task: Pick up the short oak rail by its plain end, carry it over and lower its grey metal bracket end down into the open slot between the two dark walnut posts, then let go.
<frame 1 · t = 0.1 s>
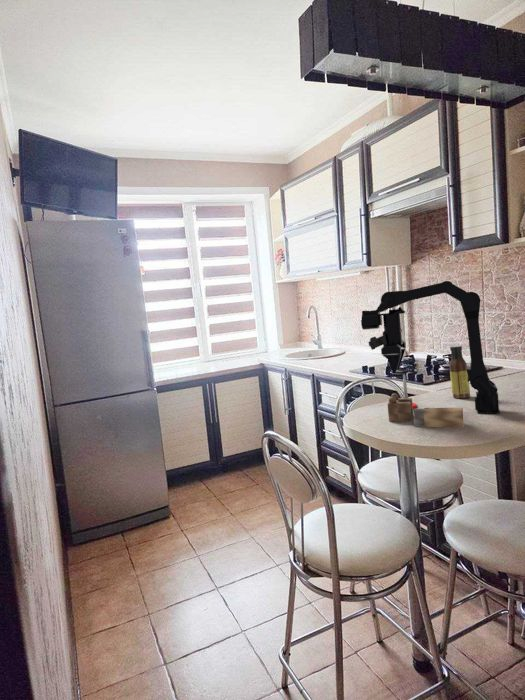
hand: (396, 371, 154), 15 cm above the table, tool pointing down, fingers open, 9 cm apart
headboard post: (402, 418, 146), on the table
bed rail: (444, 425, 134), on the table
sauce bottle: (460, 397, 167), on the table
tow hook: (405, 407, 161), on the table
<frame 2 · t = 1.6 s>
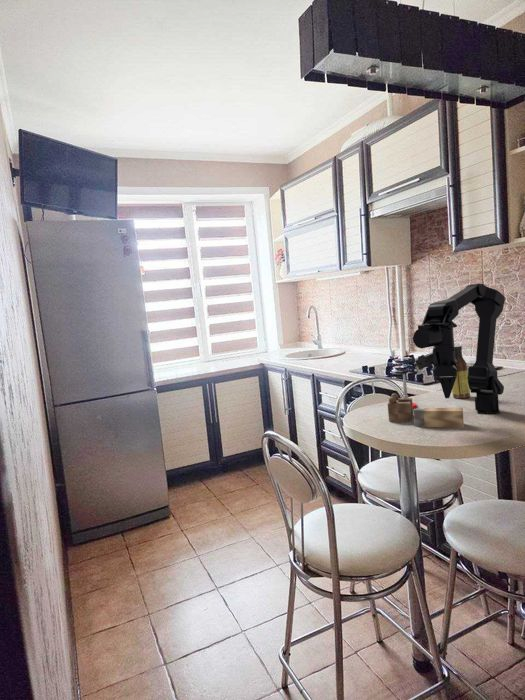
hand: (447, 394, 132), 9 cm above the table, tool pointing down, fingers open, 9 cm apart
nothing on the table moved.
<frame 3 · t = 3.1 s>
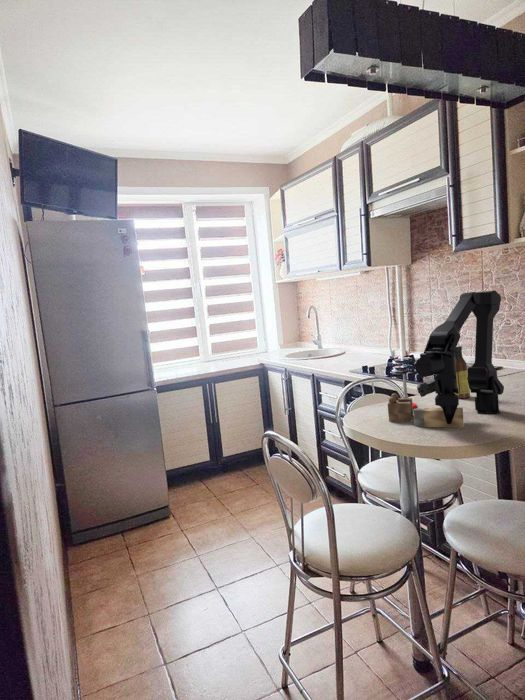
hand: (449, 421, 133), 1 cm above the table, tool pointing down, fingers closed on bed rail, 4 cm apart
bed rail: (444, 425, 134), on the table, touching gripper
everything else where it was.
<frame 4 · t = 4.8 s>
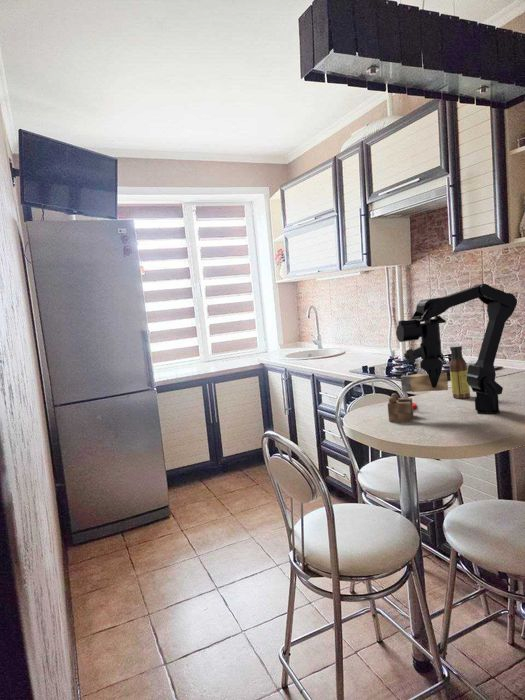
hand: (434, 386, 141), 11 cm above the table, tool pointing down, fingers closed on bed rail, 4 cm apart
bed rail: (429, 389, 142), point 10 cm above the table, touching gripper
everything else where it was.
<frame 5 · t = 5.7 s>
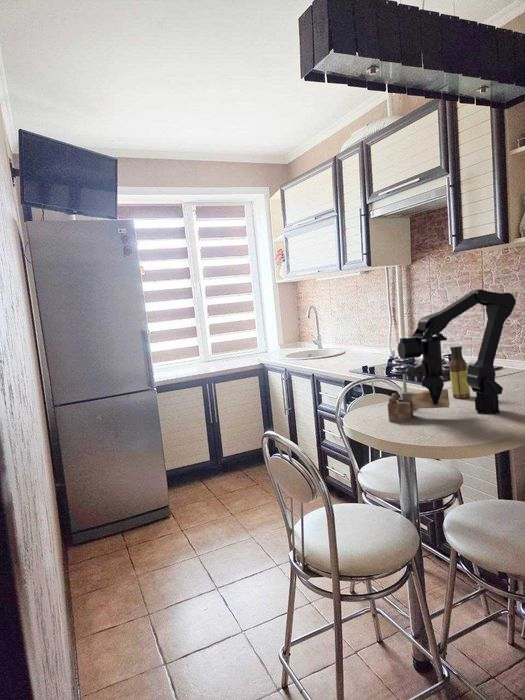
hand: (435, 403, 141), 5 cm above the table, tool pointing down, fingers closed on bed rail, 4 cm apart
bed rail: (431, 406, 142), point 4 cm above the table, touching gripper
everything else where it was.
when the fingers open (2 cm above the table, at t = 6.5 s): bed rail drops 1 cm, on the table.
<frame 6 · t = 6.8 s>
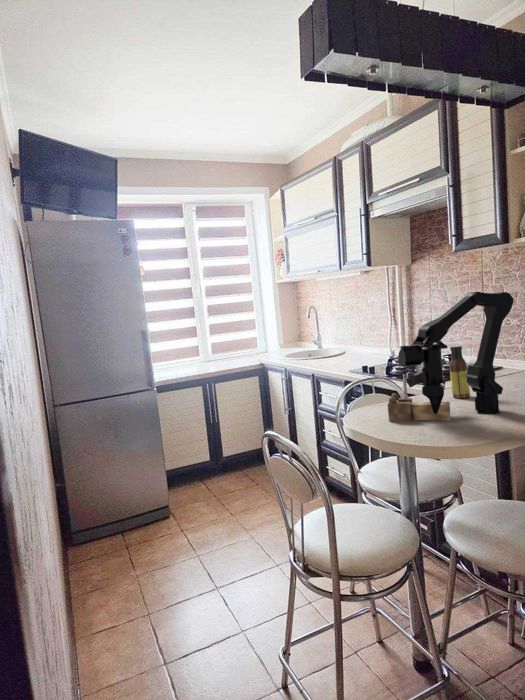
hand: (436, 410, 142), 2 cm above the table, tool pointing down, fingers open, 7 cm apart
bed rail: (432, 418, 142), on the table
everything else where it was.
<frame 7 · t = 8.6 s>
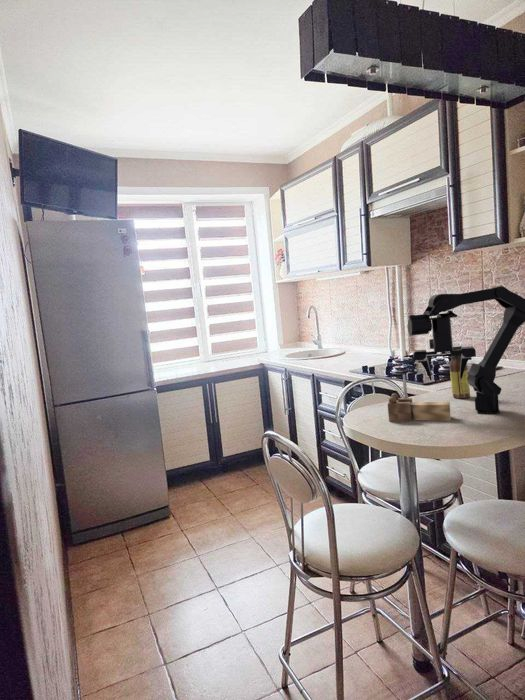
hand: (445, 379, 144), 12 cm above the table, tool pointing down, fingers open, 9 cm apart
nothing on the table moved.
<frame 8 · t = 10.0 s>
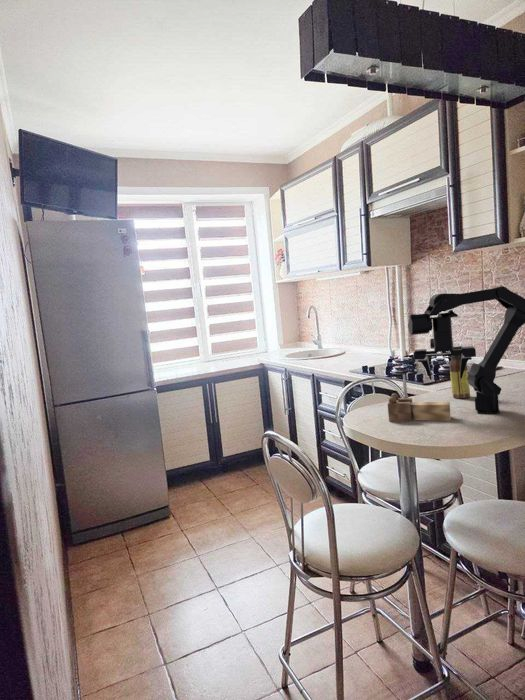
hand: (445, 378, 144), 12 cm above the table, tool pointing down, fingers open, 9 cm apart
nothing on the table moved.
at the end: bed rail 0.1 cm from the target spot on the table beside the headboard post, on the table; bed rail tilted 0°; the gripper is holding nothing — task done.
